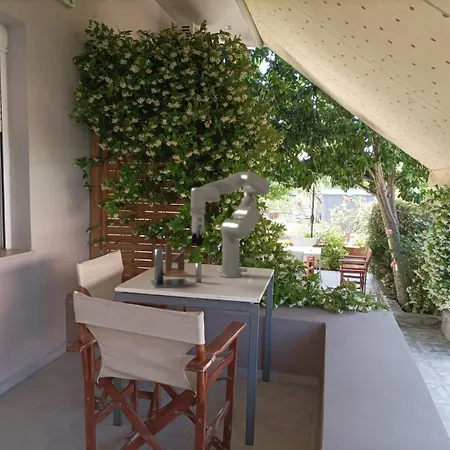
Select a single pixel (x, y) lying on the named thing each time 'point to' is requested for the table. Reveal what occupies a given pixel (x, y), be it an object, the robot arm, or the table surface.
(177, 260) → the brown slanted frame
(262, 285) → the table surface
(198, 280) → the wedge pin
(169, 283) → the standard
